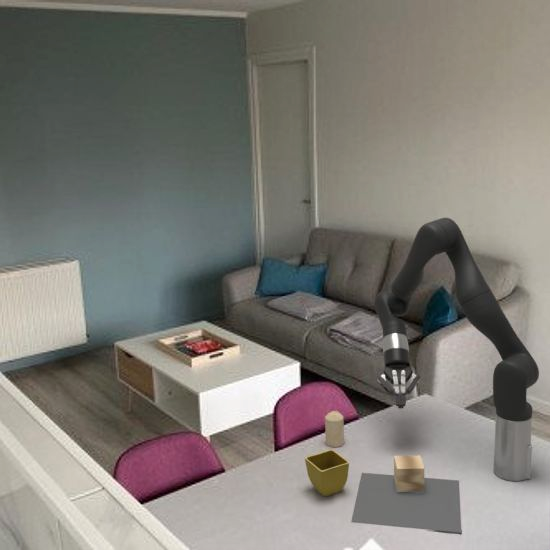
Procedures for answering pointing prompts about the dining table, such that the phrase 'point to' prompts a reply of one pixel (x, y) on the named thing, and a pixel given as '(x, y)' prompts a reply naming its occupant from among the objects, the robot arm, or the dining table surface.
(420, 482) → the cube
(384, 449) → the dining table surface
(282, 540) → the dining table surface
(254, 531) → the dining table surface
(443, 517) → the mat
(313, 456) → the flower pot
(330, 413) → the candle
